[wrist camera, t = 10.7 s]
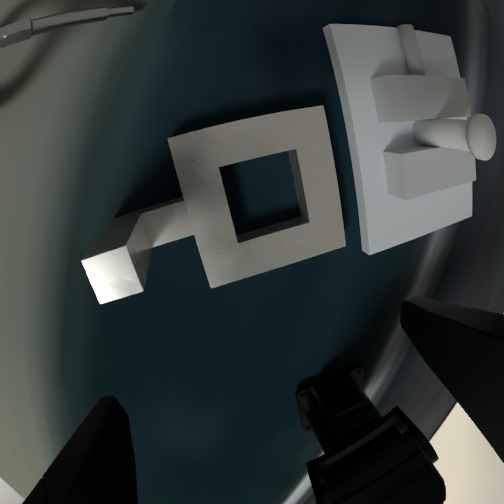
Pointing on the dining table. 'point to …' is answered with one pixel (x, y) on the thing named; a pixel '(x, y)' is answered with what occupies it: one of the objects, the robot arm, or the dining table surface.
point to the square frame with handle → (217, 210)
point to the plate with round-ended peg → (406, 130)
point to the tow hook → (58, 22)
